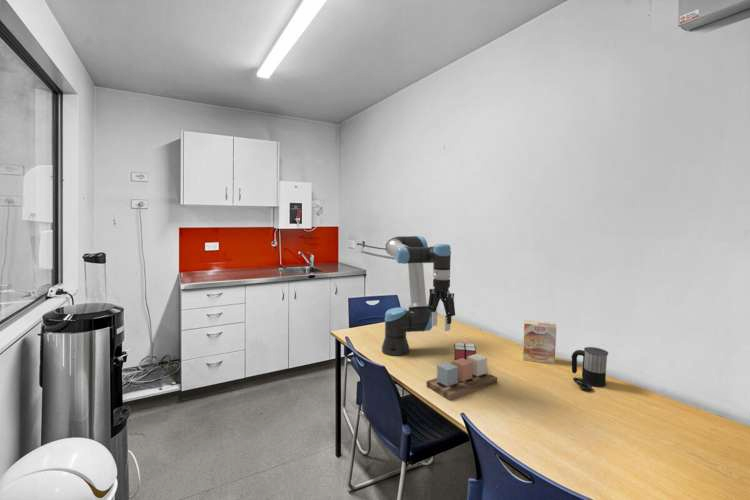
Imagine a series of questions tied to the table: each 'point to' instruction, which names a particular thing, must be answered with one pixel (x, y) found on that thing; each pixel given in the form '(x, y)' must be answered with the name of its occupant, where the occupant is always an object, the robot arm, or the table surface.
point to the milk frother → (591, 367)
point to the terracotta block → (464, 369)
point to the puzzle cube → (463, 350)
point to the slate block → (447, 374)
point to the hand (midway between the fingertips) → (440, 327)
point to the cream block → (478, 364)
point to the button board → (462, 386)
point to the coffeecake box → (539, 341)
